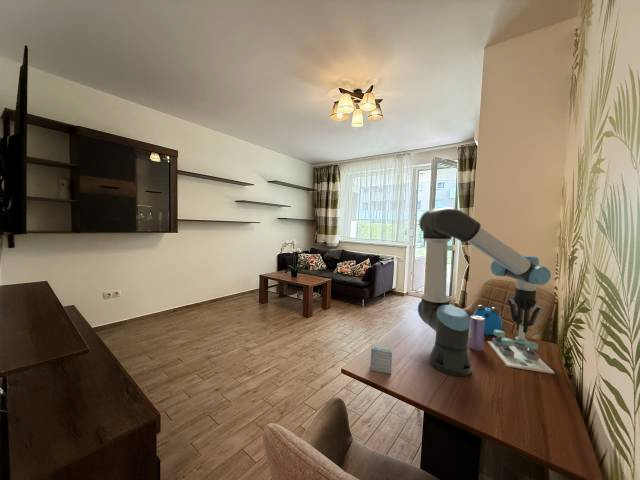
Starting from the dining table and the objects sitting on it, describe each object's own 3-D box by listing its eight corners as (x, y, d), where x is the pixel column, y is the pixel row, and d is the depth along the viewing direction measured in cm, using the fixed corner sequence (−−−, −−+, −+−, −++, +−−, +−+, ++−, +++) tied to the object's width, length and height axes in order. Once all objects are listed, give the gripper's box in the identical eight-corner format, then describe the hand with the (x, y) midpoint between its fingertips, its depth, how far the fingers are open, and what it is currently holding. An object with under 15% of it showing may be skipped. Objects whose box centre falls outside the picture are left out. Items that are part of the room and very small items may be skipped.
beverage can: (484, 352, 115) (487, 320, 114) (470, 350, 116) (473, 319, 115) (479, 346, 121) (481, 315, 120) (465, 344, 122) (468, 314, 121)
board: (507, 366, 104) (507, 359, 104) (487, 342, 125) (488, 336, 125) (554, 373, 100) (554, 366, 99) (525, 347, 121) (526, 341, 121)
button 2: (527, 353, 108) (528, 344, 108) (522, 348, 113) (523, 340, 112) (539, 355, 107) (540, 346, 107) (534, 350, 112) (535, 341, 111)
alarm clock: (500, 334, 134) (503, 307, 133) (500, 338, 129) (502, 310, 128) (472, 328, 142) (474, 301, 141) (471, 331, 137) (473, 304, 136)
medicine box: (391, 368, 100) (392, 347, 100) (391, 374, 96) (392, 352, 95) (371, 364, 102) (371, 344, 102) (370, 370, 98) (371, 349, 98)
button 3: (495, 341, 120) (495, 332, 119) (491, 337, 124) (492, 329, 123) (506, 342, 118) (506, 334, 118) (502, 338, 123) (502, 330, 122)
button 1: (503, 350, 111) (504, 341, 111) (499, 345, 115) (499, 337, 115) (515, 351, 110) (515, 342, 109) (510, 347, 114) (511, 338, 114)
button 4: (517, 348, 117) (517, 339, 117) (512, 343, 122) (513, 335, 121) (528, 349, 116) (529, 341, 116) (523, 345, 120) (524, 337, 120)
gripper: (547, 291, 113) (542, 342, 115) (513, 284, 124) (509, 331, 126) (539, 293, 109) (534, 346, 111) (505, 286, 121) (501, 334, 122)
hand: (521, 338), depth 118 cm, fingers closed
